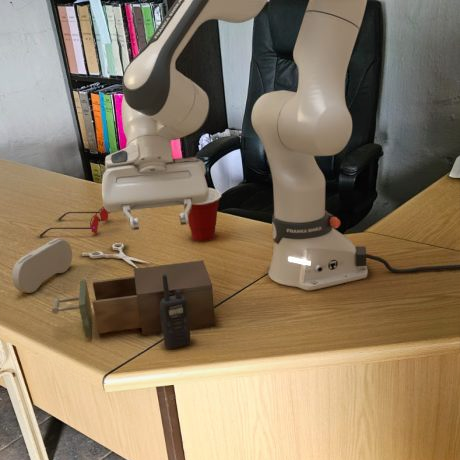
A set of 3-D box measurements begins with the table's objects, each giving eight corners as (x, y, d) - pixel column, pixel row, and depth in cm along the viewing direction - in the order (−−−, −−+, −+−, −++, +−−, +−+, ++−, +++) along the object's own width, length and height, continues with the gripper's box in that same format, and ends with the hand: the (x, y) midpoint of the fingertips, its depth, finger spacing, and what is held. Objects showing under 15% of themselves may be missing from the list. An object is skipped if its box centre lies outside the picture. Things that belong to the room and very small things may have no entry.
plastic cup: (188, 248, 165) (184, 202, 158) (179, 234, 174) (175, 190, 167) (228, 241, 167) (226, 196, 161) (218, 228, 176) (215, 185, 170)
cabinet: (142, 336, 126) (136, 294, 121) (139, 307, 137) (133, 268, 132) (215, 326, 128) (212, 284, 123) (206, 299, 138) (203, 260, 134)
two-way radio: (166, 351, 120) (157, 279, 112) (159, 341, 124) (150, 270, 116) (194, 345, 122) (187, 272, 114) (186, 334, 125) (179, 264, 118)
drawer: (56, 342, 124) (48, 308, 120) (59, 315, 134) (52, 284, 130) (154, 328, 126) (149, 295, 123) (150, 303, 136) (146, 272, 132)
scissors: (115, 240, 170) (163, 258, 157) (115, 243, 170) (163, 261, 157) (81, 253, 163) (128, 272, 151) (82, 255, 164) (128, 275, 151)
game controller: (67, 264, 160) (61, 232, 155) (75, 265, 159) (69, 233, 154) (15, 297, 145) (6, 263, 140) (23, 299, 144) (15, 264, 140)
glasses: (96, 237, 175) (93, 220, 172) (39, 237, 178) (35, 220, 175) (112, 220, 187) (109, 203, 184) (58, 220, 189) (55, 203, 187)
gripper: (202, 165, 129) (213, 227, 125) (100, 174, 126) (108, 238, 123) (204, 147, 123) (215, 212, 119) (96, 157, 120) (104, 224, 117)
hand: (160, 226), depth 121 cm, fingers open, 8 cm apart
